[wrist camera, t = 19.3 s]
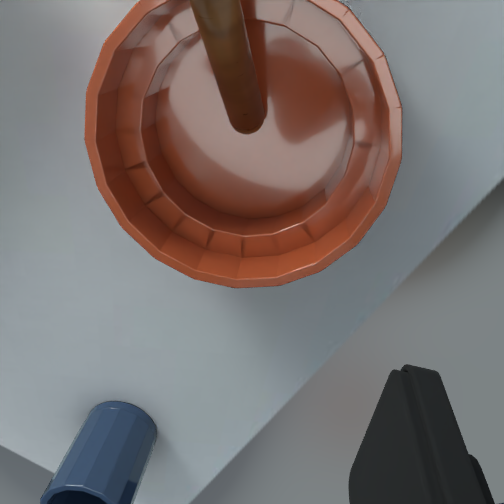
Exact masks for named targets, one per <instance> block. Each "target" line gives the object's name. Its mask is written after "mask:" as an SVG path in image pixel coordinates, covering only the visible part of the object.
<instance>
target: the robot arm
mask: <svg viewBox="0 0 504 504" xmlns="http://www.w3.org/2000/svg"><path fill="white" fill-rule="evenodd" d="M349 501H350V504H495V503H494V500H493V498H492V495H491V492H490V490H489V487H488V484H487V482H486V479H485V477H484V474H483V472H482V469H481V467H480V465H479V463H478V461H477V459H476V458H475V457H473V456H472V455H470V454H468V451H467V449H466V446H465V443H464V440H463V438H462V435H461V432H460V429H459V427H458V424H457V421H456V418H455V416H454V413H453V410H452V407H451V405H450V402H449V399H448V396H447V394H446V391H445V388H444V385H443V382H442V380H441V377H440V375H439V373H438V372H437V371H434V370H430V369H425V368H421V367H417V366H412V365H404V366H403V367H402V369H401V371H399V370H392V372H391V373H390V375H389V377H388V380H387V382H386V384H385V387H384V389H383V392H382V394H381V397H380V399H379V402H378V404H377V407H376V409H375V412H374V414H373V417H372V419H371V422H370V424H369V426H368V429H367V431H366V434H365V437H364V439H363V441H362V444H361V446H360V448H359V451H358V453H357V456H356V458H355V461H354V463H353V466H352V468H351V472H350V477H349Z"/></svg>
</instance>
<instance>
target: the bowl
mask: <svg viewBox="0 0 504 504" xmlns="http://www.w3.org/2000/svg"><path fill="white" fill-rule="evenodd" d="M240 3H241V8H242V12H243V17H244V21H245V26H246V30H247V35H248V39H249V44H250V49H251V53H252V58H253V62H254V67H255V71H256V76H257V80H258V85H259V90H260V94H261V99H262V103H263V108H264V112H265V119H264V123H263V125H262V126H261V128H260V129H259V130H258V131H256V132H255V133H252V134H241V133H239V132H237V131H236V130H235V129H234V128H233V127H232V125H231V124H230V121H229V118H228V115H227V112H226V109H225V106H224V103H223V100H222V97H221V94H220V91H219V88H218V85H217V82H216V79H215V76H214V73H213V70H212V67H211V64H210V61H209V58H208V55H207V52H206V49H205V46H204V43H203V40H202V37H201V35H200V32H199V29H198V26H197V23H196V20H195V17H194V14H193V11H192V8H191V5H190V2H189V0H139V2H137V3H136V4H135V5H134V7H133V8H132V9H131V10H130V11H129V13H128V14H127V15H126V16H125V17H124V19H123V20H122V21H121V22H120V23H119V25H118V26H117V27H116V28H115V30H114V31H113V32H112V33H111V34H110V36H109V37H108V38H107V39H106V40H105V43H104V44H103V46H102V49H101V52H100V55H99V57H98V60H97V63H96V65H95V68H94V71H93V74H92V76H91V79H90V82H89V84H88V87H87V91H86V110H85V139H84V140H85V144H86V148H87V152H88V155H89V159H90V163H91V166H92V170H93V174H94V178H95V181H96V185H97V187H98V190H99V191H100V193H101V194H102V196H103V198H104V199H105V201H106V203H107V204H108V206H109V208H110V209H111V211H112V213H113V214H114V216H115V218H116V219H117V221H118V223H119V224H120V226H122V228H123V229H124V230H125V231H126V232H127V233H128V234H129V235H130V236H131V237H132V238H133V239H134V240H135V241H137V242H138V243H139V244H140V245H141V246H142V247H143V248H144V249H145V250H146V251H147V252H148V253H149V254H150V255H151V256H152V257H155V259H157V260H159V261H160V262H162V263H164V264H166V265H168V266H170V267H172V268H174V269H175V270H177V271H179V272H181V273H183V274H185V275H187V276H189V277H191V278H193V279H196V280H200V281H205V282H209V283H214V284H218V285H223V286H227V287H231V288H250V287H269V286H281V285H283V284H286V283H289V282H292V281H295V280H298V279H301V278H304V277H306V276H309V275H312V274H315V273H318V272H320V271H322V270H323V269H325V268H326V267H327V266H329V265H330V264H332V263H333V262H334V261H336V260H337V259H338V258H340V257H341V256H343V255H344V254H345V253H347V252H348V251H350V250H351V249H352V248H354V247H355V246H356V245H357V244H358V243H359V242H360V241H361V239H362V238H363V237H364V235H365V234H366V233H367V231H368V230H369V229H370V227H371V226H372V225H373V223H374V222H375V221H376V219H377V218H378V217H379V215H380V214H381V212H382V211H383V210H384V208H385V206H386V205H387V202H388V199H389V196H390V193H391V190H392V187H393V184H394V181H395V178H396V175H397V172H398V169H399V167H400V164H401V159H402V104H401V101H400V98H399V95H398V92H397V89H396V86H395V83H394V80H393V77H392V74H391V71H390V68H389V65H388V62H387V59H386V56H385V55H384V52H383V51H382V50H381V48H380V47H379V46H378V44H377V43H376V42H375V41H374V39H373V38H372V37H371V35H370V34H369V33H368V31H367V30H366V29H365V28H364V26H363V25H362V24H361V22H360V21H359V20H358V18H357V17H356V16H355V15H354V13H353V12H352V11H351V10H350V9H349V8H348V7H347V6H345V5H344V4H342V3H341V2H339V1H338V0H240Z"/></svg>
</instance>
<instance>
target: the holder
mask: <svg viewBox="0 0 504 504" xmlns="http://www.w3.org/2000/svg"><path fill="white" fill-rule="evenodd" d="M156 437H157V432H156V427H155V425H154V422H153V421H152V419H151V418H150V417H149V416H148V415H147V414H146V413H145V412H144V411H142V410H141V409H139V408H138V407H136V406H134V405H131V404H128V403H125V402H118V401H110V402H105V403H102V404H99V405H98V406H96V407H95V408H93V409H92V410H91V412H90V413H89V415H88V417H87V419H86V420H85V421H84V422H83V424H82V426H81V428H80V430H79V431H78V433H77V435H76V437H75V438H74V440H73V442H72V444H71V446H70V447H69V449H68V451H67V453H66V454H65V456H64V458H63V460H62V462H61V463H60V465H59V467H58V469H57V471H56V472H55V474H54V476H53V478H52V479H51V481H50V483H49V485H48V487H47V488H46V490H45V492H44V494H43V495H42V497H41V499H40V504H133V503H134V501H135V498H136V495H137V492H138V490H139V487H140V484H141V481H142V479H143V476H144V473H145V470H146V468H147V465H148V462H149V459H150V457H151V454H152V451H153V447H154V444H155V441H156Z"/></svg>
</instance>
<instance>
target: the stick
mask: <svg viewBox="0 0 504 504" xmlns="http://www.w3.org/2000/svg"><path fill="white" fill-rule="evenodd" d="M189 2H190V5H191V8H192V11H193V14H194V17H195V20H196V23H197V26H198V29H199V32H200V35H201V37H202V40H203V43H204V46H205V49H206V52H207V55H208V58H209V61H210V64H211V67H212V70H213V73H214V76H215V79H216V82H217V85H218V88H219V91H220V94H221V97H222V100H223V103H224V106H225V109H226V112H227V115H228V118H229V121H230V124H231V125H232V127H233V128H234V129H235V130H236V131H237V132H239V133H241V134H252V133H255V132H256V131H258V130H259V129H260V128H261V126H262V125H263V123H264V119H265V112H264V108H263V103H262V99H261V94H260V90H259V85H258V80H257V76H256V71H255V67H254V62H253V58H252V53H251V49H250V44H249V39H248V35H247V30H246V26H245V21H244V17H243V12H242V8H241V3H240V0H189Z"/></svg>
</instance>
